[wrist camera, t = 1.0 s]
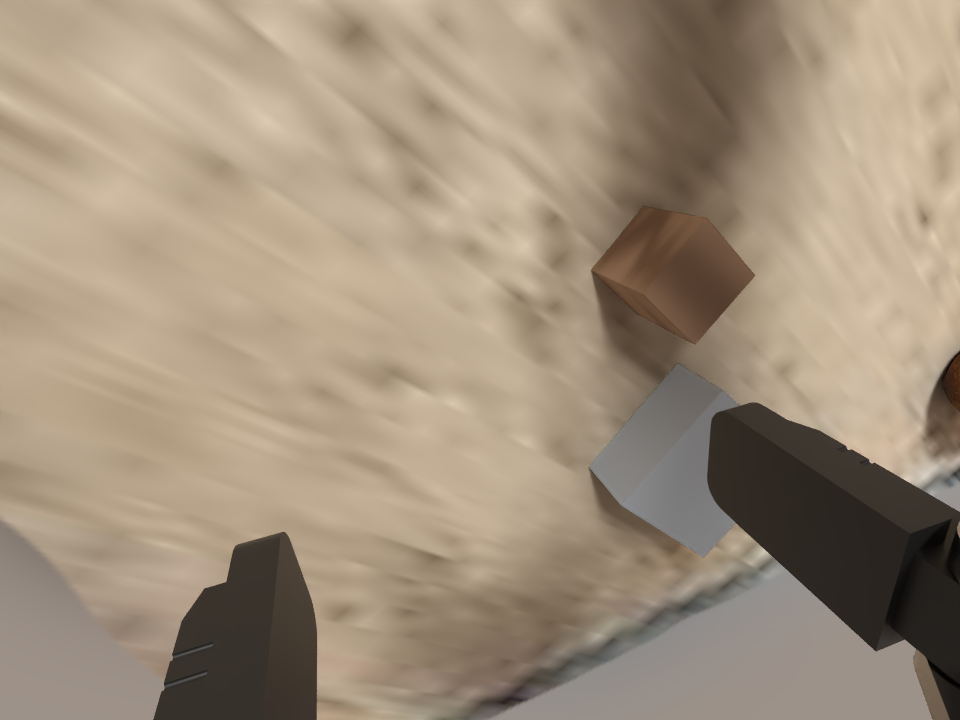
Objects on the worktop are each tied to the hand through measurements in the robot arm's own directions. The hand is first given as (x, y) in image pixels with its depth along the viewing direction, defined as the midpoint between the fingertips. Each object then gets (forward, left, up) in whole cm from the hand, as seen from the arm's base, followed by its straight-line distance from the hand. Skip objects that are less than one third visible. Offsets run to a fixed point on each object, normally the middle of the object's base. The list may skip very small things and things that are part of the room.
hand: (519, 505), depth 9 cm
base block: (-2, +26, -22) cm, 34 cm away
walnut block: (-10, +13, -22) cm, 28 cm away
